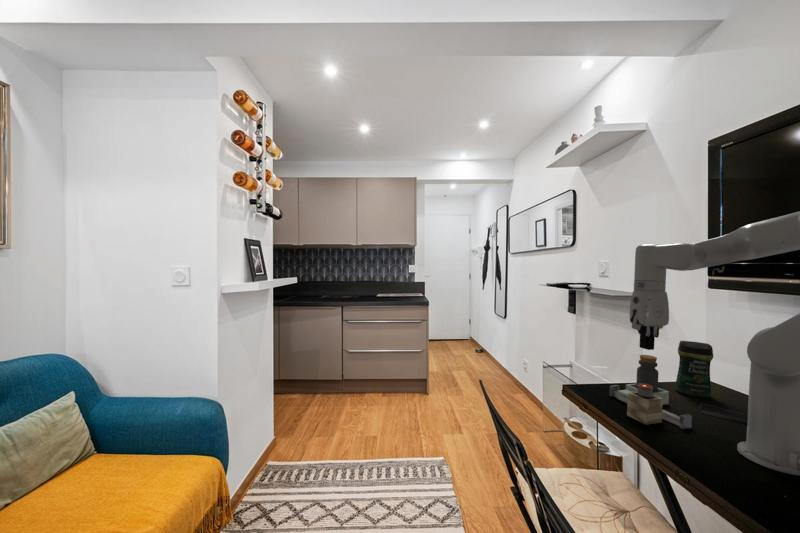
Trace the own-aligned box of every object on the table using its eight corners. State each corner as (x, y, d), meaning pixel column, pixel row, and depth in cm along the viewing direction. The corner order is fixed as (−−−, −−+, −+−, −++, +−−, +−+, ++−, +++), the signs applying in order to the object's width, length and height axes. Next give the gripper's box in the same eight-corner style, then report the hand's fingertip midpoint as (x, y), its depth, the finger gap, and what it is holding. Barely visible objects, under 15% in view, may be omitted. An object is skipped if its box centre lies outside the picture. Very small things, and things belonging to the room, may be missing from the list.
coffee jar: (678, 394, 122) (680, 342, 121) (673, 387, 128) (675, 338, 128) (714, 400, 117) (716, 346, 116) (707, 392, 124) (709, 341, 123)
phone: (767, 427, 97) (697, 409, 108) (767, 431, 97) (697, 413, 108) (766, 418, 102) (700, 402, 113) (766, 422, 102) (700, 405, 113)
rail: (691, 427, 97) (691, 415, 97) (683, 429, 96) (683, 416, 96) (616, 394, 120) (617, 384, 120) (609, 395, 119) (609, 385, 119)
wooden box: (661, 422, 100) (662, 398, 100) (645, 424, 98) (646, 400, 98) (642, 413, 106) (643, 390, 106) (626, 415, 104) (627, 392, 104)
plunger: (655, 404, 101) (656, 387, 101) (645, 405, 100) (646, 388, 99) (643, 399, 104) (644, 382, 104) (633, 400, 103) (634, 383, 103)
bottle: (650, 397, 118) (652, 354, 118) (661, 405, 112) (663, 359, 112) (632, 396, 119) (633, 353, 118) (642, 404, 113) (644, 358, 112)
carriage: (668, 403, 113) (669, 391, 112) (637, 407, 109) (637, 395, 109) (644, 393, 121) (644, 382, 120) (614, 397, 117) (614, 385, 117)
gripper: (641, 287, 95) (639, 353, 96) (681, 287, 99) (678, 350, 100) (618, 285, 103) (615, 346, 103) (656, 285, 107) (653, 344, 107)
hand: (646, 348), depth 102 cm, fingers closed
